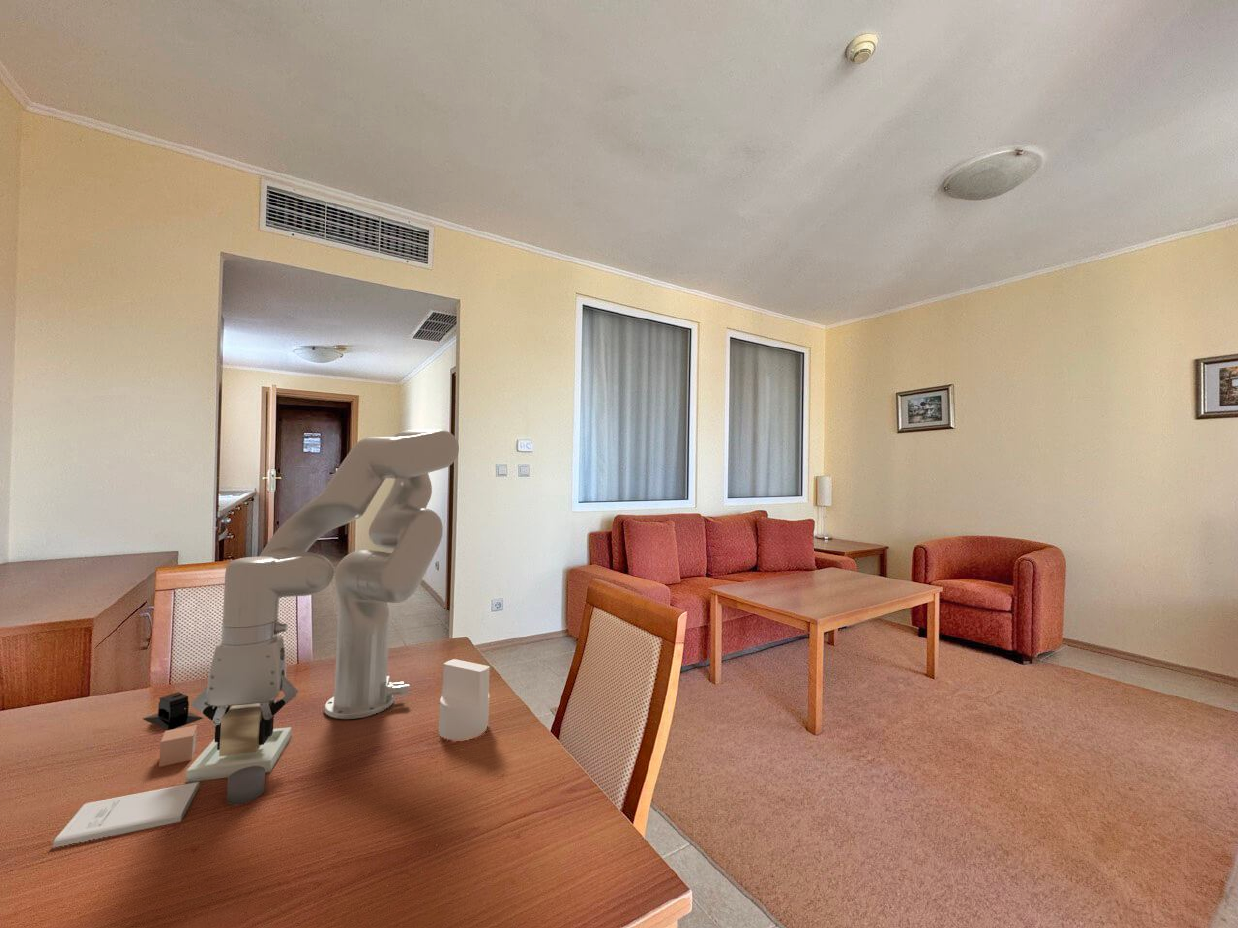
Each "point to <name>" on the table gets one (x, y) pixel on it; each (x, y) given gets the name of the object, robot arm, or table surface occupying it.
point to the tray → (238, 758)
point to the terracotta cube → (177, 745)
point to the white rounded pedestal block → (464, 700)
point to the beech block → (240, 730)
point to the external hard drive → (128, 814)
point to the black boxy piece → (173, 712)
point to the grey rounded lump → (245, 785)
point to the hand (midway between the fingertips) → (244, 741)
